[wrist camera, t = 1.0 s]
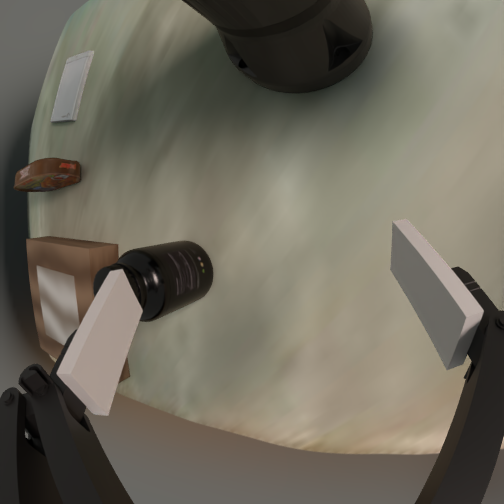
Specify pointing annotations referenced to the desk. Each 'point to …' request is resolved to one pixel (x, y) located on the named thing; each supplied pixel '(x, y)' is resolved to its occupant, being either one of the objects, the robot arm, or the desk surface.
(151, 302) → the supplement bottle
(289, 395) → the desk surface
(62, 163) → the tin
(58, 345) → the plinth
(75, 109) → the hard drive
